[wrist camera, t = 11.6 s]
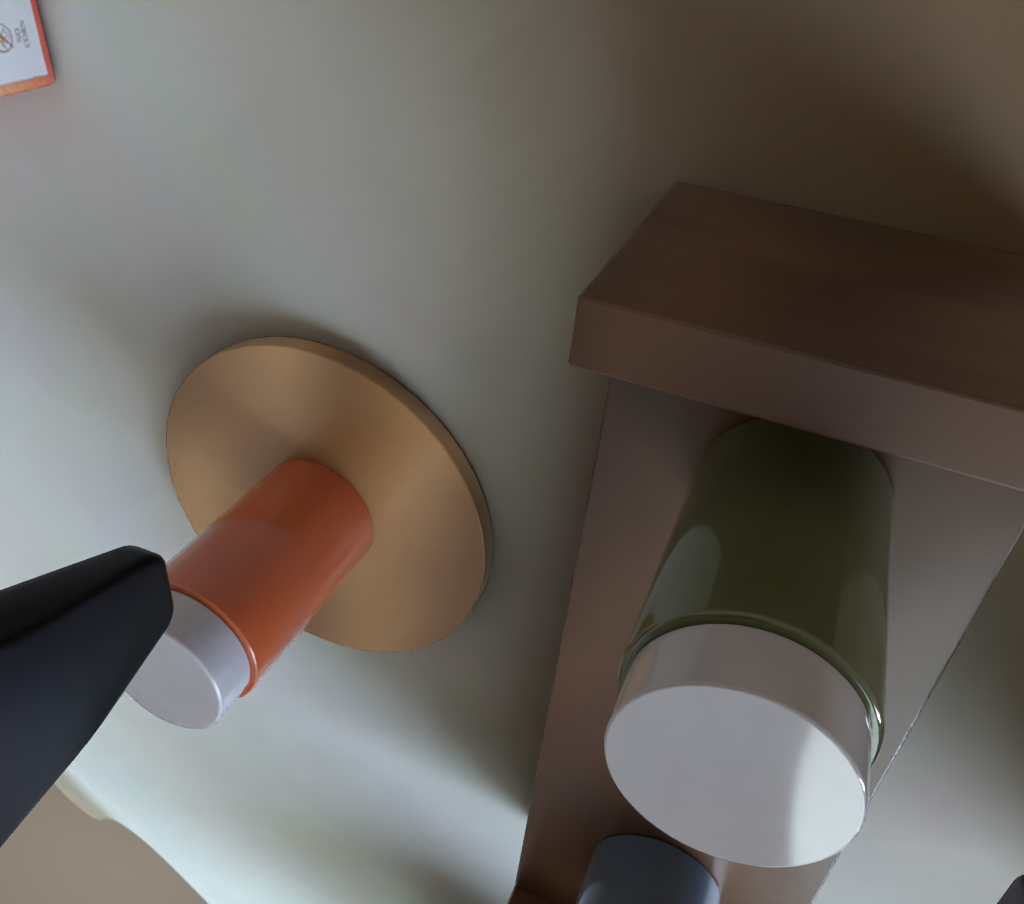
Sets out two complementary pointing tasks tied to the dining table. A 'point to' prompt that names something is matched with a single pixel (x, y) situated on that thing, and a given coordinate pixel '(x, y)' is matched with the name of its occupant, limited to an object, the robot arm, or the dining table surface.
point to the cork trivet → (359, 460)
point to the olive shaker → (762, 652)
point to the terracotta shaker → (251, 590)
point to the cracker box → (23, 48)
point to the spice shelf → (792, 402)
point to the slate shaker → (645, 874)
